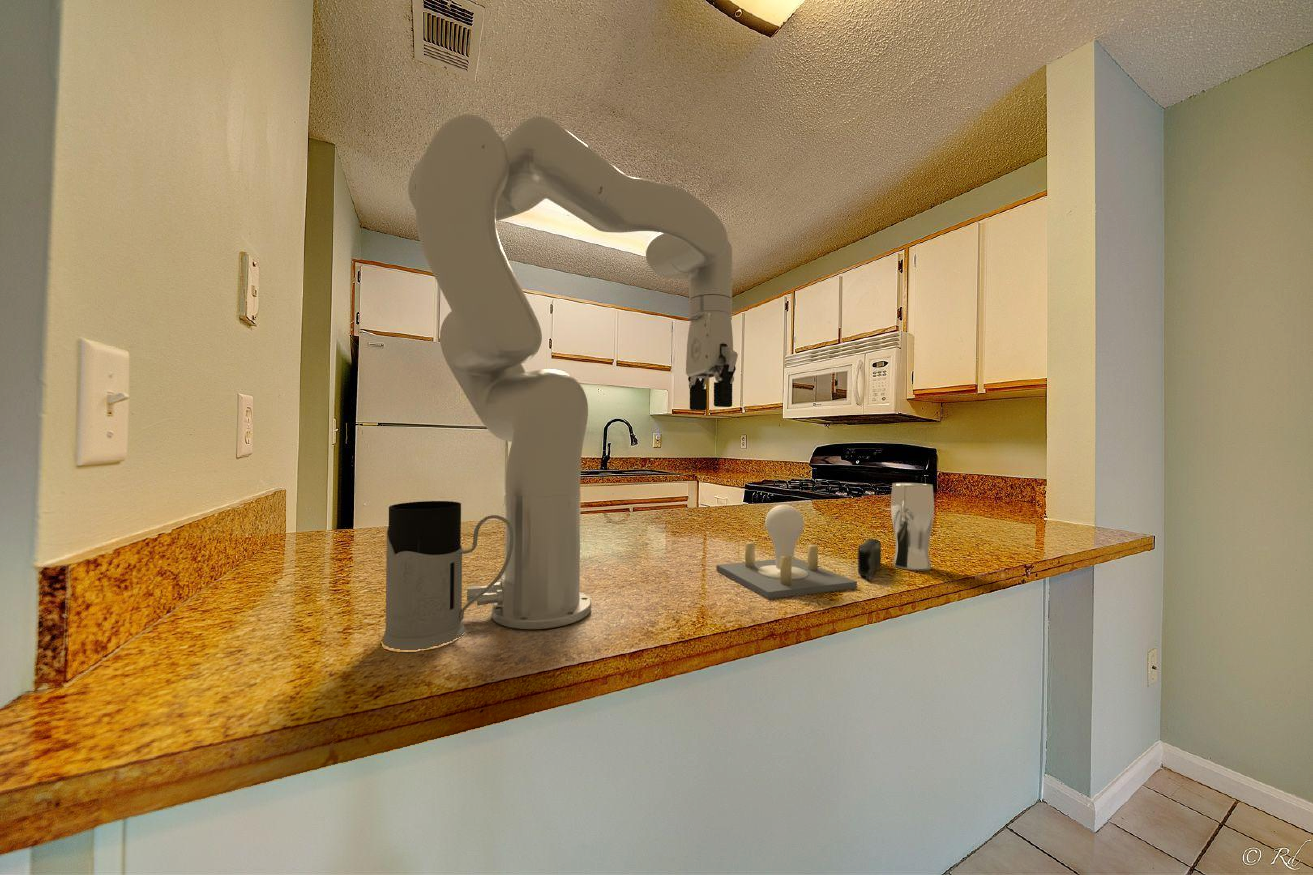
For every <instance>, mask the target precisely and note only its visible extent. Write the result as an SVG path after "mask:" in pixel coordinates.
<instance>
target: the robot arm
mask: <svg viewBox="0 0 1313 875" xmlns="http://www.w3.org/2000/svg"><path fill="white" fill-rule="evenodd" d="M407 186H408V189H407V190H408V191H407V192H408V197H409V200H410V202H411V205H412V207H413V209H414V210H415V223H416V230H417V235H418V240H419V242H420V243H419V244H420V246H421V250H422V252H423V254H424V257H425V260H426V262H427V265H428V267H429V269H430V270H431V272H432V274H433V276H434V279H435V280H436V282H437V284H438V287H439V289H440V290H441V293H442V295H443V297H444V299H445V301H446V303H447V305H448V306H449V308H450V309H451V310H450V311H449V313H447V315H446V316H445V318H444V319H443V321H442V323H441V326H440V330H439V342H440V347H441V352H442V355H443V358H444V361H445V362H446V364H447V366H448V368H449V369H450V371H451V373H452V375H453V376H454V378H455V381H457V383H458V385H459V387H460V388H461V391H462V392H463V394H464V395H465V397H466V398H467V400H468V402H469V404H470V405H471V407H472V408H473V410H474V412H475V414H476V415H477V417H478V418H479V420H480V421H481V423H482V424H483V426H484V428H486V429H487V430H488V431H489V432H490V433H491V434H492V435H493V436H495V437H496V438H497V439H498V438H499V439H500V440H503V441H505V442H510V443H511V445H510V449H509V453H508V456H507V463H506V470H505V519H506V520H508V521H509V522H510V524H511V526H512V528H513V535H514V539H513V550H512V554H511V558H510V561H509V563H508V565H507V567H506V569H505V571H504V574H503V575H502V576H501V578H500V579H501V580H500V581H499V580H498V581H497V582H496V583H495V584H494V585H493V586H492V587H491V588H490V589H489V590H488V591H486V592H485V593H484V594H483V595H482V596H481V597H479V598H478V599H477V600H476V601H475V602H476V606H482V605H489V604H493V605H492V607H491V618H492V619H493V621H494V622H496V623H497V624H499V625H501V626H504V627H506V628H511V629H517V630H518V629H520V630H544V629H546V630H547V629H552V628H553V629H554V628H558V627H563V626H568V625H571V624H573V623H576V622H578V621H581V620H583V619H584V618H586V617H587V616H588V615H589V614H590V613H591V611H592V599H591V598H590V597H589V595H586V594H585V593H583V592H580V588H581V587H580V586H581V584H580V583H581V581H580V580H581V579H580V578H581V577H580V575H581V573H580V572H581V562H580V561H581V473H582V472H581V469H582V468H581V467H582V455H583V454H582V453H583V446H584V442H585V441H584V439H585V435H586V430H587V424H588V418H589V417H588V416H589V404H588V398H587V395H586V392H585V389H584V388H583V387H582V385H581V384H580V382H578V380H577V379H576V378H575V377H574V376H572V375H571V374H569V373H566V372H565V371H562V370H557V369H552V368H551V369H550V368H545V369H543V368H542V369H537V370H532V371H531V370H530V371H528V372H527V371H525V368H524V366H523V364H524V363H526V362H529V361H530V360H532V358H534V357H535V355H536V354H537V353H538V352H539V350H540V349H541V348H540V347H541V346H542V342H543V340H542V339H543V334H542V328H541V326H540V322H539V321H538V320H539V319H538V317H537V315H536V314H535V312H534V310H533V307H532V306H531V304H530V301H529V300H528V298H527V296H526V294H525V291H524V290H523V288H522V287H521V284H520V282H519V280H518V278H517V277H516V274H515V272H514V271H513V268H512V267H511V264H510V263H509V260H508V258H507V254H506V253H505V252H504V249H503V246H502V244H501V241H500V238H499V235H498V228H497V221H502V220H505V219H508V218H511V217H512V218H513V217H514V216H517V215H520V214H523V213H525V212H528V211H529V210H530V211H531V209H533V208H535V207H536V206H538V205H539V204H540V203H542V202H543V201H544V200H545V199H547V200H549V201H551V202H552V203H554V204H555V205H557V206H559V207H561V208H562V209H564V210H565V211H566V212H568V213H570V214H571V215H573V216H575V217H577V218H578V219H579V220H581V221H583V222H585V223H586V224H588V225H589V226H590V227H592V228H593V229H595V230H597V231H599V232H601V233H602V232H604V233H614V234H615V233H620V234H622V233H633V232H634V233H635V232H654V233H655V232H656V233H658V234H656V235H655V236H653V237H652V238H651V239H650V240H649V241H648V244H647V246H646V249H645V259H646V263H647V264H648V266H649V268H650V269H651V270H652V271H653V272H654V273H655V274H657V276H660V277H662V278H667V279H674V280H686V281H688V282H689V286H688V287H689V290H688V291H689V294H688V295H689V296H688V297H689V300H688V304H689V305H688V321H689V322H690V323H689V328H688V334H687V342H686V357H685V359H686V360H685V374H686V376H687V377H688V378H687V380H688V389H689V410H690V411H707V388H705V387H706V384H707V381H708V379H709V378H713V377H714V379H715V382H713V406H714V407H715V408H716V407H717V408H731V407H732V406H733V383H734V381H735V377H734V374H735V372H736V370H737V369H736V368H737V366H736V364H737V360H738V352H736V351H735V350H734V340H733V338H734V336H733V334H734V333H733V324H732V319H733V248H732V244H731V242H729V240H728V237H729V236H728V232H727V230H726V226H725V225H724V223H723V222H722V220H721V219H720V218H719V216H718V215H717V214H716V213H715V212H714V211H713V210H712V209H711V208H710V207H709V206H707V205H706V204H705V203H704V202H702V201H701V200H700V199H699V198H697V197H696V195H694V194H693V193H691V192H689V191H687V190H685V189H682V188H680V187H679V186H678V187H677V186H674V185H670V184H666V183H662V182H658V181H654V180H648V179H644V178H639V177H632V176H629V175H627V174H625V173H624V172H622V171H621V170H619V169H618V168H617V167H616V166H615V165H614V164H612V163H611V162H609V161H607V160H606V159H605V158H604V157H602V156H601V155H599V154H598V153H597V152H596V151H594V150H593V149H592V148H590V147H589V146H588V145H587V144H586V143H584V142H583V141H581V140H580V139H579V138H577V137H576V136H575V135H573V134H572V133H571V132H569V131H568V130H567V129H566V128H564V127H563V126H561V125H560V124H559V123H557V121H555V120H552V119H551V118H548V117H546V116H539V115H538V116H536V115H535V116H532V117H530V118H527V119H526V120H524V121H523V122H521V123H520V124H519V125H518V126H516V127H515V129H514V130H512V131H511V132H510V134H508V135H507V136H506V138H505V139H504V140H503V138H502V136H501V134H500V133H499V132H498V130H497V128H496V127H494V126H493V125H492V124H491V123H490V122H489V121H488V120H487V119H485V118H483V117H481V116H479V115H475V114H468V113H467V114H461V115H457V116H455V117H452V118H450V119H448V120H447V121H446V122H445V123H444V124H442V126H441V127H440V128H439V129H438V130H437V132H435V134H434V135H433V137H432V139H431V141H430V143H429V144H428V146H427V148H426V150H425V152H424V153H423V155H422V157H420V159H419V161H418V162H417V163H416V165H415V167H414V168H413V170H412V172H411V174H410V176H409V181H408V184H407ZM504 523H505V522H504ZM504 527H505V532H504V535H505V536H504V537H505V538H504V539H505V541H504V542H505V543H504V547H505V548H504V562H505V561H506V558H507V555H508V551H509V544H510V532H509V528H508V526H507V524H506V523H505V525H504ZM487 586H488V585H481V584H480V585H469V586H467V588H466V602H467V603H468V602H469V601H470V600H471V599H473V598H474V597H475V596H476V595H478V594H479V593H480V592H481V591H483V590H484V589H485V588H486V587H487Z"/></svg>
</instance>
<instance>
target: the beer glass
mask: <svg viewBox="0 0 1313 875" xmlns="http://www.w3.org/2000/svg"><path fill="white" fill-rule="evenodd" d="M891 484H892V485H891V494H890V495H891V496H890V514H891V515H890V516H891V522H892V529H893V533H894V540H895V551H894V556H893V563H892V564H893V566H894V567H896V568H898V569H902V570H907V571H913V572H915V571H916V572H928V571H931V569H932V564H931V559H930V553H929V552H930V551H929V550H930V549H929V547H930V539H931V533H932V529H933V526H934V525H933V524H934V518H935V500H934V486H933V485H934V484H930V483H921V482H920V483H919V482H893V483H891Z"/></svg>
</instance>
